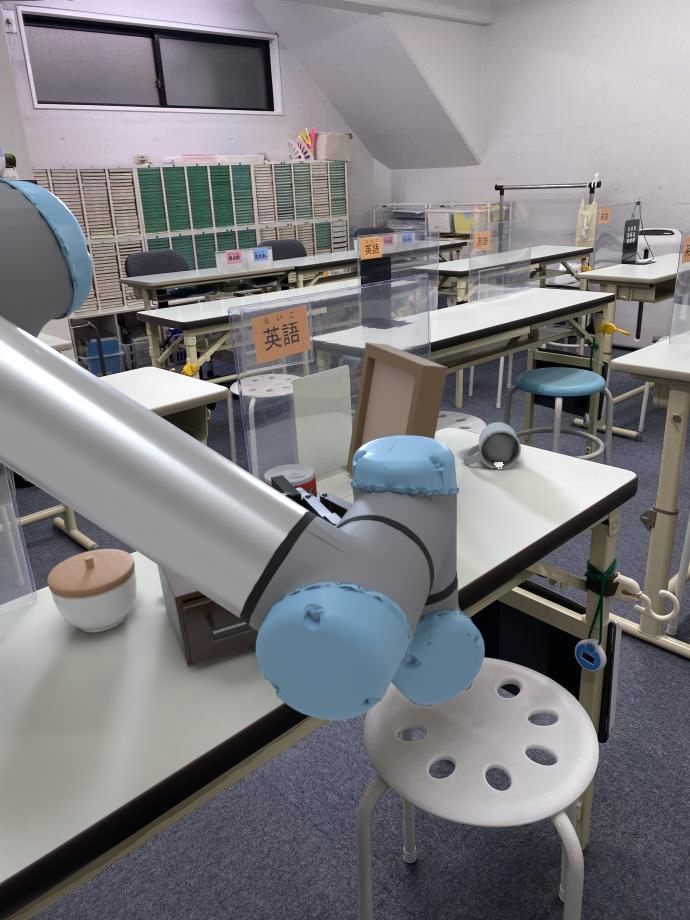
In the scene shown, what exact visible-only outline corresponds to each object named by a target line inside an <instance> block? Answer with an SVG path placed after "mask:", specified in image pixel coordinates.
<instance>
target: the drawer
mask: <svg viewBox="0 0 690 920" xmlns="http://www.w3.org/2000/svg"><path fill="white" fill-rule="evenodd" d="M182 602H183V603H182V610H183V615H184V621H185V626H186V632H187V637H188V643H189V648H190V654H191V659H192V662H193V665H192V666H197V665H200V664H204V663H206V662H209V661H213V660H215V659H219V658H222V657H225V656H228V655H231V654H234V653H238V652H241V651H244V650H247V649H249V648H254V647H256V640H257V636H258V633H259V632H258V631H257V630H255V629H254V628H252V627H251V626H249V624H247V623H245V622H244V621H242V620H241V619H240V618H239V617H238V616H236V615H234V614H233V613H231V612H230V611H228V610H227V609H225V608H224V607H222V606H221V605H219V604H218V603H216V602H214V601H213V600H211V599H210V598H208V597H207V596H205V595H202V596H199V597H195V598H192V599H188V600H185V601H182Z"/></svg>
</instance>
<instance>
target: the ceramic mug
mask: <svg viewBox="0 0 690 920" xmlns="http://www.w3.org/2000/svg"><path fill="white" fill-rule="evenodd" d="M521 453H522V445H521V441H520V440H519V438H518V436H517V434H516V431H515V429H514V428H513V427H512V426H510V425H509V424H507V423H506V422H501V421H498V422H497V421H496V422H492V423H489V424H487V425H486V426H485V427H484V428H483V429H482V431H481V432H480V435H479V436H478V444H475V445H474V446H472V447H470V448H468V449H467V450H465V451H464V452H463V454H462V460H463V462H464V464H465V465H474V464H477V463H479V462H482V463H483V464H484V465H486V466H487V467H488V468H491V469H493V468H498V467H496V466H495V465H494V462H503V464H504V465H503V466H502V468H506V469H509V468H511V467H513V466H514V465H515V464H516V463H517V461H518V460H519V458H520V456H521ZM499 468H501V467H499Z"/></svg>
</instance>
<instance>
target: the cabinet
mask: <svg viewBox="0 0 690 920" xmlns="http://www.w3.org/2000/svg"><path fill="white" fill-rule="evenodd" d="M156 565H157V569H158V575H159V580H160V585H161V586H160V587H161V589H162V591H161V592H162V595H163V601H164V607H165V611H166V614H167V616H168V619H169V622H170V624H171V626H172V627H171V628H172V630H173V632H174V634H175V635H174V636H175V638H176V640H177V643H178V646H179V649H180V651H181V654H182V656H183V659H184V662H185V663H186V667H191V666H194V665H193V662H192V659H191V654H190V648H189V643H188V637H187V632H186V626H185V621H184V615H183V610H182V603H183V602H182V601H185V600H188V599H192V598H195V597H199V596H202V595H204V594H202V593H201V592H199V591H198V590H196V589H194V588H193V587H191V586H190V585H188V584H187V583H185V582H184V581H182V580H181V579H179V578H178V577H176V576H174V575H173V574H171V573H170V572H168V571H167V570H165V569H164V568H162V567H161V566H159V565H158V564H156Z"/></svg>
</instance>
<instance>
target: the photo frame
mask: <svg viewBox="0 0 690 920" xmlns="http://www.w3.org/2000/svg"><path fill="white" fill-rule="evenodd" d="M447 373H448V366H444V365H442V364H439V363H437V362H434V361H432V360H429V359H426V358H424V357H421V356H418V355H416V354H413V353H410V352H408V351H405V350H403V349H399V348H398V347H395V346H392V345H389V344H384V343H374V342H365V345H364V351H363V358H362V364H361V371H360V379H359V383H358V384H359V385H358V392H357V396H356V397H357V398H356V405H355V411H354V419H353V422H352V423H353V424H352V429H351V430H352V431H351V437H350V444H349V450H348V456H347V463H346V468H345V470H346V472H348V474H350V475H351V476H352V477H353V464H352V462H353V457H354V455H355V453H356V451H357V450H358V449H359V448H360V447H362V446H363V445H365V444H366V443H368V442H371V441H373V440H376V439H380V438H384V437H391V436H402V435H410V436H422V437H428V438H432V439H435V437H436V432H437V426H438V422H439V416H440V410H441V405H442V401H443V400H442V399H443V395H444V389H445V384H446V378H447Z"/></svg>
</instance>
